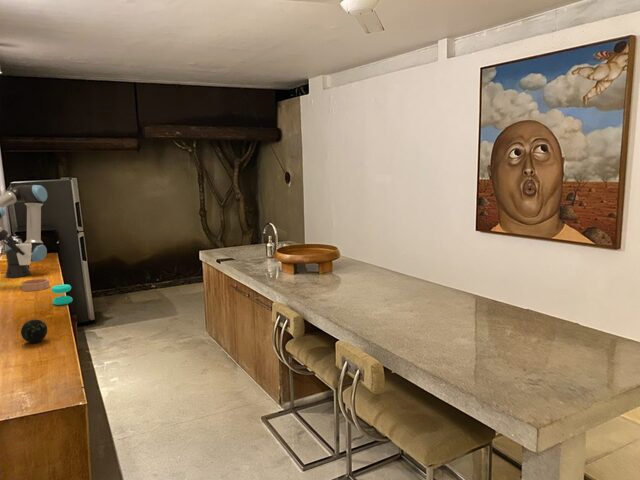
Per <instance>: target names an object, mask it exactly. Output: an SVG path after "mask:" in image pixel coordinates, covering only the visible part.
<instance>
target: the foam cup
mask: <svg viewBox="0 0 640 480" xmlns="http://www.w3.org/2000/svg"><path fill="white" fill-rule="evenodd" d="M22 243H23V244H16V246H17V247H19V248H20V249H22V250H23V251H24V252H26V253H27V254H28V255H30V257H29V258H28V259H26V258H25V257H23V256H22V255H20V254H19V253H17V257H18V261H19V265H27V266H29V265H31V262H32V261H31V248H32V244H31V243H24V242H22Z"/></svg>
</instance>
